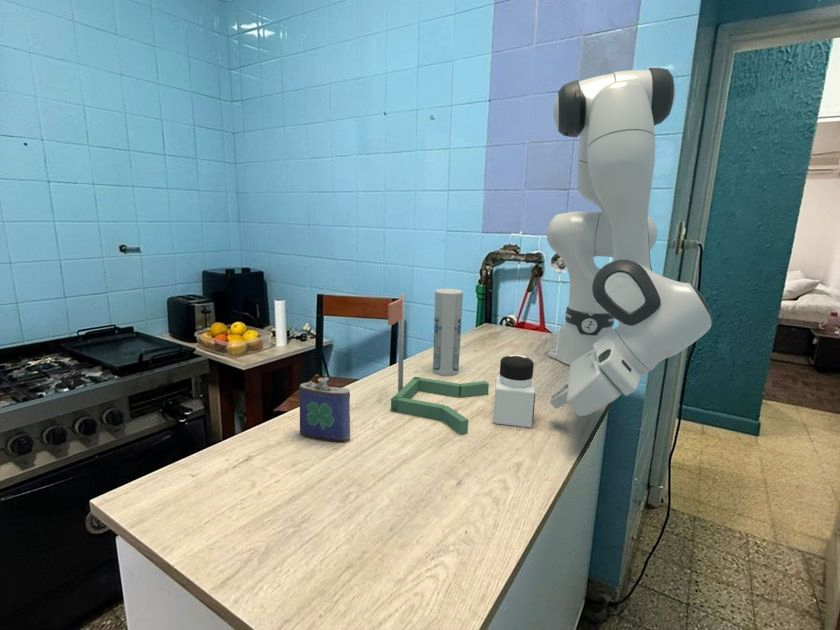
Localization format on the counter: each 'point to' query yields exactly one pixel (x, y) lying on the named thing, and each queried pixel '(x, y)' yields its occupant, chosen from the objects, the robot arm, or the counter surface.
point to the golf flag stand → (428, 385)
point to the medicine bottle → (515, 392)
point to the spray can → (447, 331)
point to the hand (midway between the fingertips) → (553, 402)
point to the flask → (324, 411)
